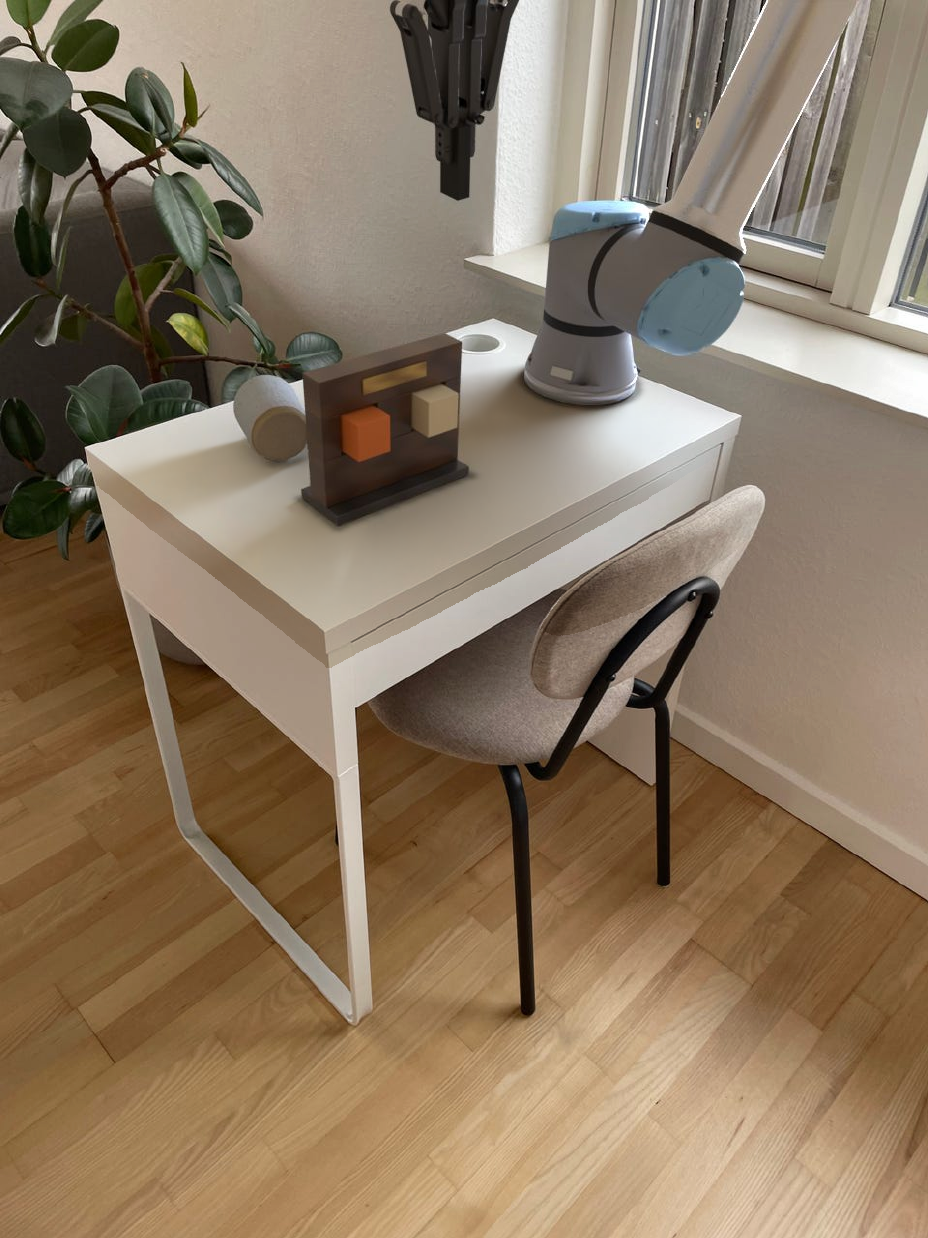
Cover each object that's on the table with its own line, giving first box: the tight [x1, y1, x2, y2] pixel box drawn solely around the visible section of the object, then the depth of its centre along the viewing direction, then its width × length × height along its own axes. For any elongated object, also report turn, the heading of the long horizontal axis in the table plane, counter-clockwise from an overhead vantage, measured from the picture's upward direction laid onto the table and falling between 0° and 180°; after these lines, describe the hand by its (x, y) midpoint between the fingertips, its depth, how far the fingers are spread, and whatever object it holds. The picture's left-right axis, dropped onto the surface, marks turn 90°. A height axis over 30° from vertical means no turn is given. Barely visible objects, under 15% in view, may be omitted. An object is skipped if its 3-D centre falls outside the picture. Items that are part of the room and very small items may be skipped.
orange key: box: [339, 404, 390, 462], centre depth 95 cm, size 4×4×4 cm
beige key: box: [411, 383, 459, 438], centre depth 100 cm, size 4×4×4 cm
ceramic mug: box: [232, 374, 308, 462], centre depth 108 cm, size 11×8×8 cm
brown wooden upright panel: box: [300, 332, 470, 527], centre depth 99 cm, size 18×7×15 cm, turn 130°
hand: (454, 194), depth 91 cm, fingers closed
